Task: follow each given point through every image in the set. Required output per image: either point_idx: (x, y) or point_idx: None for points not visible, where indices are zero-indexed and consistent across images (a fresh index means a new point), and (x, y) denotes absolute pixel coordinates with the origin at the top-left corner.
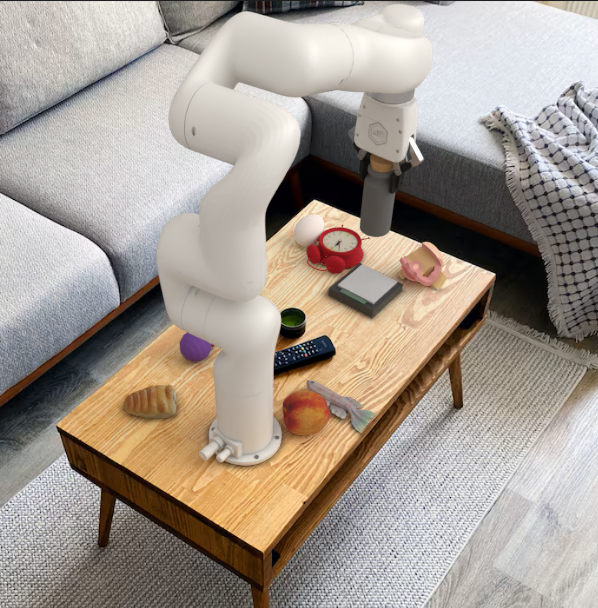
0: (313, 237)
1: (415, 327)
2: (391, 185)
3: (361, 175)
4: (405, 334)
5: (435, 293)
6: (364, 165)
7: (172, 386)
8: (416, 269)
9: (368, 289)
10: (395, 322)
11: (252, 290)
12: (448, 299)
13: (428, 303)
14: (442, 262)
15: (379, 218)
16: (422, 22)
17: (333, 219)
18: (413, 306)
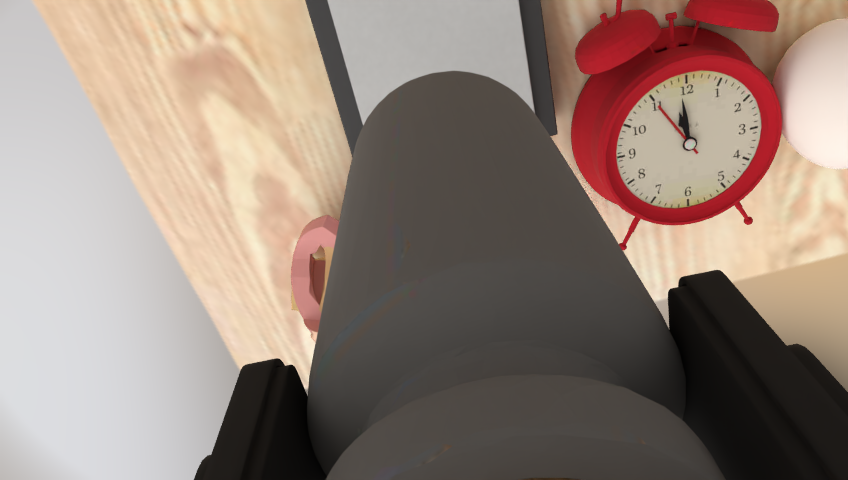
0: (795, 71)
1: (175, 69)
2: (234, 437)
3: (720, 313)
4: (159, 9)
5: (289, 244)
6: (781, 450)
7: None
8: None
9: (404, 42)
10: (236, 26)
11: None
12: (242, 255)
13: (260, 193)
14: (311, 334)
15: (357, 169)
16: None
17: (808, 239)
18: (274, 142)
